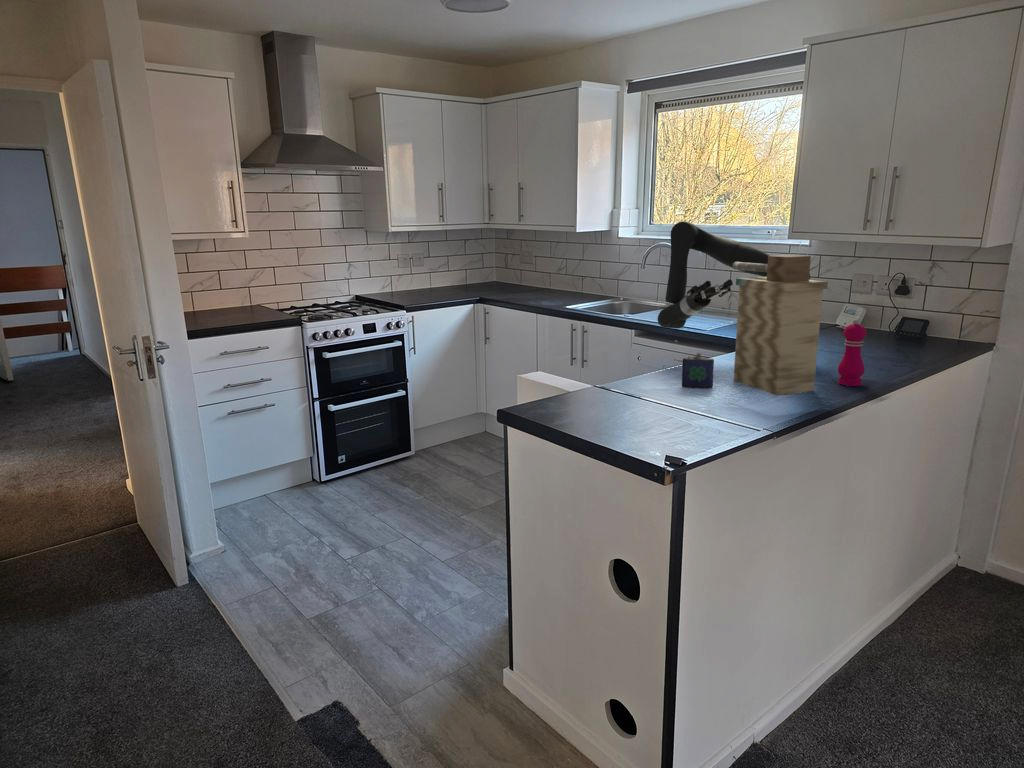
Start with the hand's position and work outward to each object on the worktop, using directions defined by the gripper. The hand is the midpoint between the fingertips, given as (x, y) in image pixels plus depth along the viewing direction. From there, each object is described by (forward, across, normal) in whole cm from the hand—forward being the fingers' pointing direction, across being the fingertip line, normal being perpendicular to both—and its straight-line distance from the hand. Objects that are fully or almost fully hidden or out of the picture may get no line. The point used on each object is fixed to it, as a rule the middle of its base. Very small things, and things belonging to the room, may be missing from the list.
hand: (720, 282), depth 219 cm
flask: (+4, -22, +36) cm, 42 cm away
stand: (+10, 0, +39) cm, 41 cm away
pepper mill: (+17, +22, +43) cm, 51 cm away
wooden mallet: (+20, 0, +8) cm, 22 cm away
